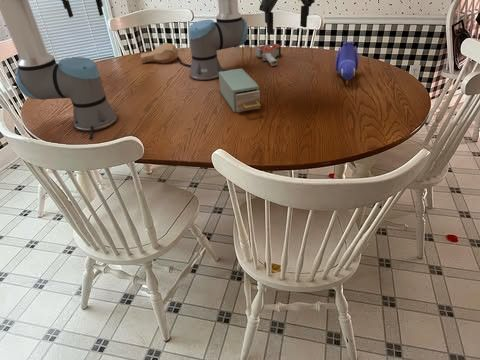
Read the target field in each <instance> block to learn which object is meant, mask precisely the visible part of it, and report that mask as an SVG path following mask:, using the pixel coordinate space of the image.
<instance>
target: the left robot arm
mask: <svg viewBox="0 0 480 360" xmlns="http://www.w3.org/2000/svg"><path fill="white" fill-rule="evenodd" d="M60 1H61V2H62V6H63V8H64V9H65V10H66V12H67V15H68V18H73V17H74V14H73V10H72V6H71V4H70V0H60ZM95 3H96V7H97V11H98V15H99V17H102V16H104V12H103V7H104V3H103V0H95ZM0 14H1V17H2V19H3V22H4V24H5V26H6V29H7V30H8V33H9V36H10V38H11V41H12V43H13V45H14V48H15V50H16V52H17V55H18V57H19V59H18V60H17V62H16V65H17V67H16V68H15V70H14V75H15V77H14V80H15V83H16V85H17V87H18V89H19V90H20V91H21V93H22V94H23V95H24V96H25V97H26V98H29V99H32V100H41V101H44V100H54V99H55V100H56V99H69V100H70V101H71V104H72V108H73V114H72V117H73V118H72V119H73V125H74V128H75V129H76V131H78V132H84V133H89V140H93V134H94V132H99V131H102V130H105V129H107V128H110V127H111V126H113V125H115V124H116V122H117V121H118V116H117V114H116V111H115V110H114V108H113V107H112V105H111V103H110V102H109V101H108V99H107V96H106V92H105V89H104V87H103V86H104V85H103V83H102V79H101V73H100V71H99V69H98V66H97V64H96V62H95V61H94V60H92V59H90V58H88V57H84V56H72V57H65V58H62V59H60V60H59V61H58V63H57V61H56V59H55V56H54V55H53V54H51V53H49V52H48V51H47V47H46V45H45V42H44V39H43V36H42V34H41V31H40V28H39V26H38V23H37V21H36V18H35V15H34V13H33V9H32V6H31V4H30V2H29V0H0Z"/></svg>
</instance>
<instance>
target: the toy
mask: <svg viewBox="0 0 480 360" xmlns="http://www.w3.org/2000/svg"><path fill="white" fill-rule="evenodd" d="M354 44H355V42H354V41H352V40H350V41H349V42H347V41H343V43H342V47H341V46H339V47H338V50H337V52H336V55H335V60H334V69H335V71H336V72H337V73H338V74H339V75H340V76H341V78H342V79H343V80H345V85H346V86H348V85H349V81H350V80H352V79H353V77H355V75H356V72H357V71H358V69H359V65H360V59H359V58H360V57H359V52H358V48H357V46H356V45H354Z"/></svg>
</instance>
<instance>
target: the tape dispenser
mask: <svg viewBox="0 0 480 360" xmlns="http://www.w3.org/2000/svg"><path fill="white" fill-rule="evenodd" d="M268 47H270V48H268ZM254 49H255V51H254V52H255V56H257V57H258V58H261V59H262V61H263V62H268V63H269V65H270V66H271V67H274V66H277V65H278V63H279V61H278V59H276V57H280V56H281V54H282V46H281V44H279V43H271V44H265V45H260V46H259V45H258V46H257V45H256V46H254Z"/></svg>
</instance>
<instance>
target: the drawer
mask: <svg viewBox="0 0 480 360" xmlns="http://www.w3.org/2000/svg"><path fill="white" fill-rule="evenodd" d="M236 105H237V112H236V113H242V112H246V111H252V110H258V109H261V108H262V104H261V91H260V89H259V90H258V91H255V90H248V91H242V92H237V93H236Z"/></svg>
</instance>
